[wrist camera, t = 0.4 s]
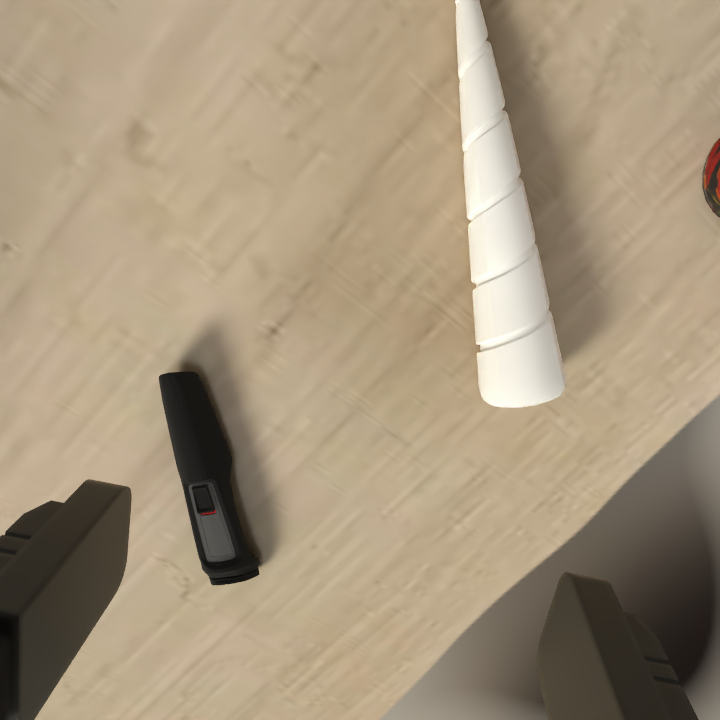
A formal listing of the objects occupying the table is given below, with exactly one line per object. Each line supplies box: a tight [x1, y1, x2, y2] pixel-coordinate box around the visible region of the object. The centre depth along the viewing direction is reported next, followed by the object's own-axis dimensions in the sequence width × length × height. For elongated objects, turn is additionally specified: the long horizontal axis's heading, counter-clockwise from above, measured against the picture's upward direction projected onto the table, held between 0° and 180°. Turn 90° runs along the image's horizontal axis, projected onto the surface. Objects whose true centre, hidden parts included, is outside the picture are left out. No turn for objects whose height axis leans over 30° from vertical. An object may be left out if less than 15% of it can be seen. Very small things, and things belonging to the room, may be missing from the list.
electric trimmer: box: [159, 372, 260, 585], centre depth 42 cm, size 4×16×3 cm, turn 10°
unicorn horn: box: [455, 0, 567, 407], centre depth 35 cm, size 5×24×5 cm, turn 8°
